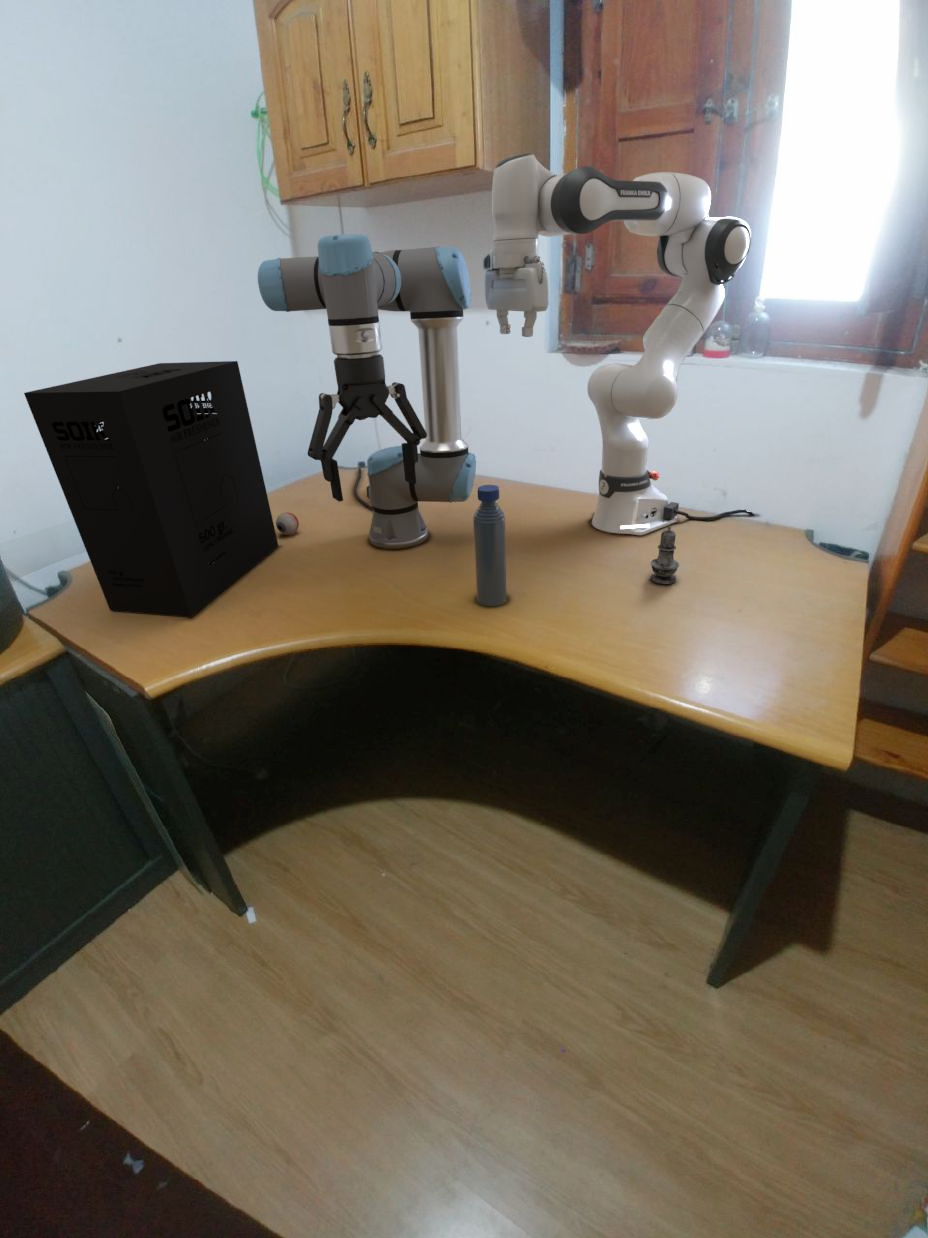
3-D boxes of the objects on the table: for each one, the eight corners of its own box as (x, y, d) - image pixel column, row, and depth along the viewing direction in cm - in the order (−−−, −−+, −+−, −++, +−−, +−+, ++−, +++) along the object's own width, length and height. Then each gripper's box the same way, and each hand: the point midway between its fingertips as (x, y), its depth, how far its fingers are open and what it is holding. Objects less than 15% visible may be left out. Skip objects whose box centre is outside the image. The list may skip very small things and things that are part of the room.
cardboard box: (191, 617, 126) (119, 391, 104) (110, 610, 131) (23, 392, 108) (278, 546, 158) (237, 360, 135) (210, 542, 162) (159, 363, 140)
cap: (492, 493, 118) (492, 483, 117) (503, 499, 115) (503, 488, 114) (474, 497, 117) (473, 487, 116) (484, 503, 113) (483, 492, 112)
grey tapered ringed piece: (678, 585, 127) (686, 532, 121) (649, 584, 129) (655, 531, 123) (675, 573, 132) (683, 521, 126) (648, 572, 134) (653, 520, 128)
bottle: (497, 590, 130) (494, 482, 118) (512, 601, 125) (510, 491, 114) (471, 597, 128) (466, 488, 116) (485, 609, 123) (481, 497, 111)
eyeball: (273, 537, 164) (268, 516, 161) (287, 528, 169) (282, 508, 166) (291, 539, 161) (286, 518, 158) (305, 530, 166) (301, 510, 163)
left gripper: (285, 366, 83) (313, 513, 94) (441, 347, 94) (449, 480, 105) (269, 362, 89) (297, 500, 99) (418, 344, 100) (428, 471, 110)
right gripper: (557, 254, 111) (556, 336, 118) (505, 258, 127) (506, 331, 134) (528, 255, 109) (527, 339, 116) (478, 260, 125) (481, 333, 132)
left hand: (375, 490), depth 102 cm, fingers open, 13 cm apart
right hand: (516, 335), depth 125 cm, fingers open, 8 cm apart
